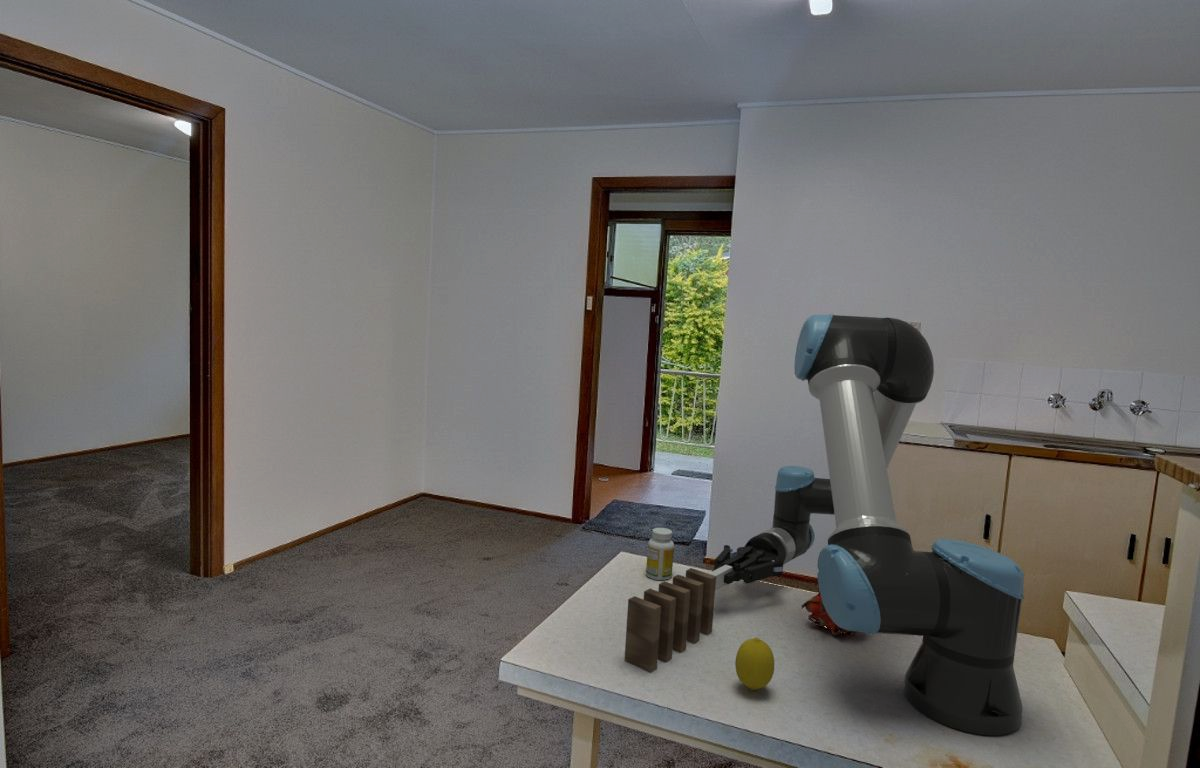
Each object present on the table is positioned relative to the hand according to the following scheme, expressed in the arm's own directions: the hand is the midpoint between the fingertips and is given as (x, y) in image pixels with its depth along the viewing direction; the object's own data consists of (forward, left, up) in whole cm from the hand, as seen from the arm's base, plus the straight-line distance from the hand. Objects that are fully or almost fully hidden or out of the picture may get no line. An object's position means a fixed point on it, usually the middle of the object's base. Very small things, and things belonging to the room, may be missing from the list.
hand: (710, 582), depth 123 cm
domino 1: (0, +21, -7) cm, 22 cm away
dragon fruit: (-18, -12, -7) cm, 23 cm away
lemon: (-16, +16, -7) cm, 24 cm away
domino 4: (0, +9, -7) cm, 11 cm away
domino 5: (0, +5, -7) cm, 8 cm away
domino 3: (0, +13, -7) cm, 15 cm away
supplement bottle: (+18, -10, -7) cm, 22 cm away
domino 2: (0, +17, -7) cm, 18 cm away
